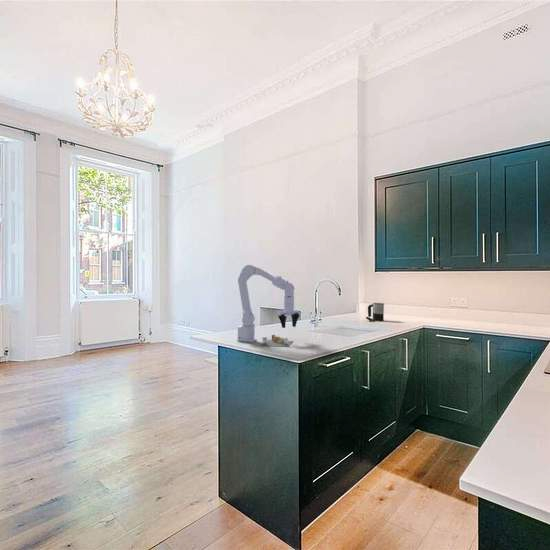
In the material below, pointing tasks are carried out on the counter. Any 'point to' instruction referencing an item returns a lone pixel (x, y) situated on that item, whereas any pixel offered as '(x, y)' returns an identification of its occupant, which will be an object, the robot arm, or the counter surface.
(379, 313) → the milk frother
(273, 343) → the mat
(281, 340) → the gate
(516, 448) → the counter surface
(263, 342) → the gate posts
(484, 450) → the counter surface
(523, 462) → the counter surface
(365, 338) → the counter surface
